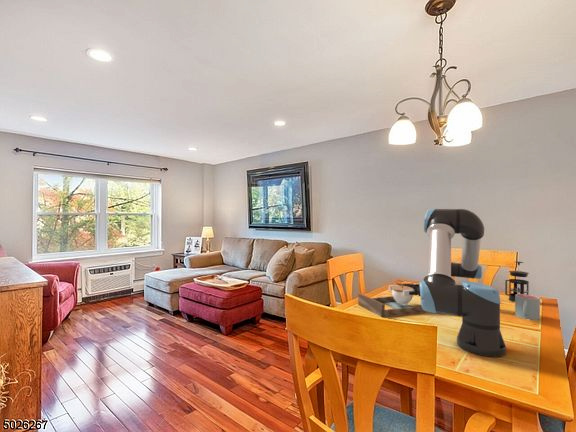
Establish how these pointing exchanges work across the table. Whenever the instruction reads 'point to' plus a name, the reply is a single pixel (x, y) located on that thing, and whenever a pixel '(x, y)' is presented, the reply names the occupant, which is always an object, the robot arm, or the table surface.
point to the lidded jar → (401, 294)
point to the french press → (521, 282)
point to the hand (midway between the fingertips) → (396, 290)
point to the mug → (527, 306)
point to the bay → (379, 305)
